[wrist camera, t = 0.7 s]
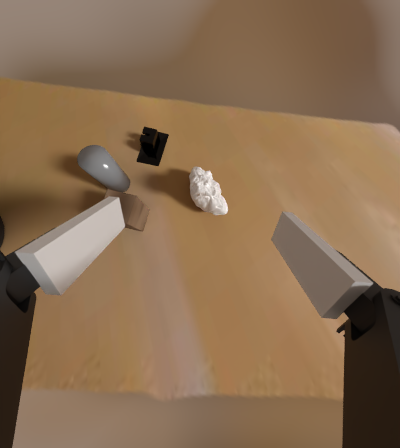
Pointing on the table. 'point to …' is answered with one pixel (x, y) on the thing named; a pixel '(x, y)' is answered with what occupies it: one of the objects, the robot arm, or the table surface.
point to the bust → (206, 192)
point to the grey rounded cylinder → (103, 168)
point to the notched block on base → (152, 146)
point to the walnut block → (131, 209)
